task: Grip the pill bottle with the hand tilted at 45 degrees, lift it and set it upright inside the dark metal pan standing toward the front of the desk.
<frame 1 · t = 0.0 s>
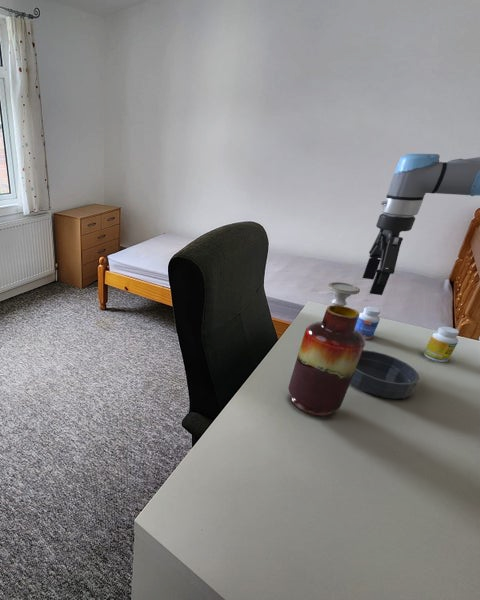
hand: (371, 285, 102), 19 cm above the table, tool pointing down, fingers open, 13 cm apart
vase: (310, 404, 84), on the table
supplement bottle: (434, 357, 101), on the table
candle holder: (324, 345, 108), on the table
pill bottle: (362, 335, 113), on the table
pan: (373, 381, 92), on the table
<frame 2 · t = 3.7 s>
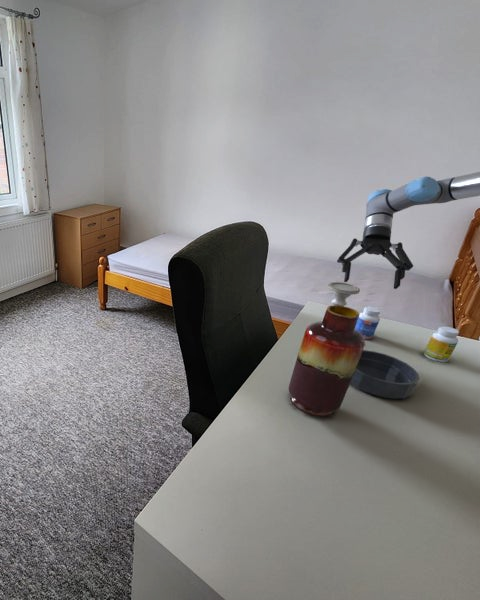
hand: (370, 283, 115), 15 cm above the table, tool tilted 45°, fingers open, 13 cm apart
nothing on the table moved.
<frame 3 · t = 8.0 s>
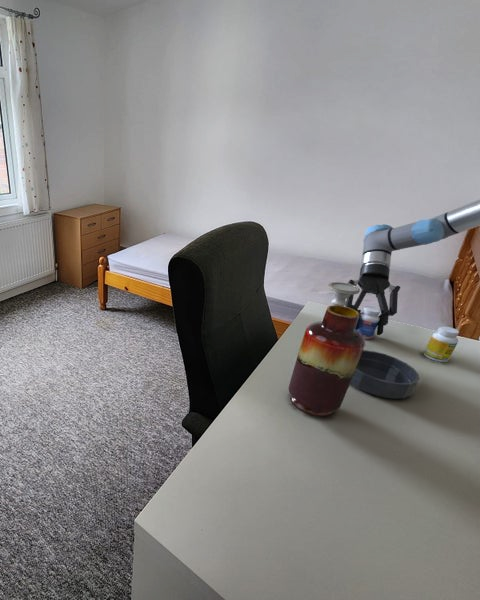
hand: (367, 331, 109), 3 cm above the table, tool tilted 45°, fingers closed on pill bottle, 5 cm apart
pill bottle: (362, 335, 113), on the table, touching gripper
everything else where it was.
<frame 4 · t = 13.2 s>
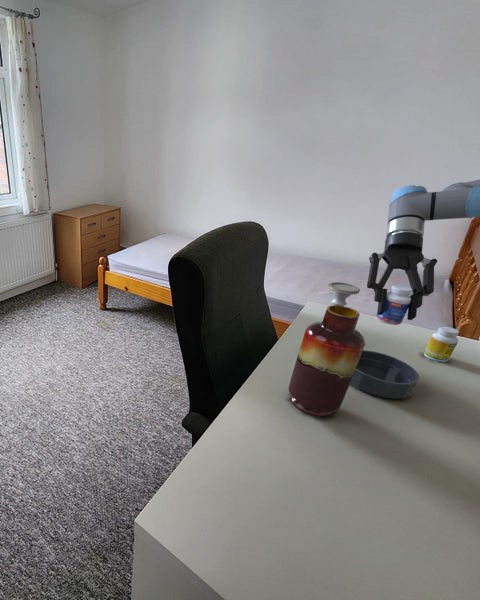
hand: (396, 315, 87), 18 cm above the table, tool tilted 45°, fingers closed on pill bottle, 5 cm apart
pill bottle: (387, 321, 91), point 15 cm above the table, touching gripper
everything else where it was.
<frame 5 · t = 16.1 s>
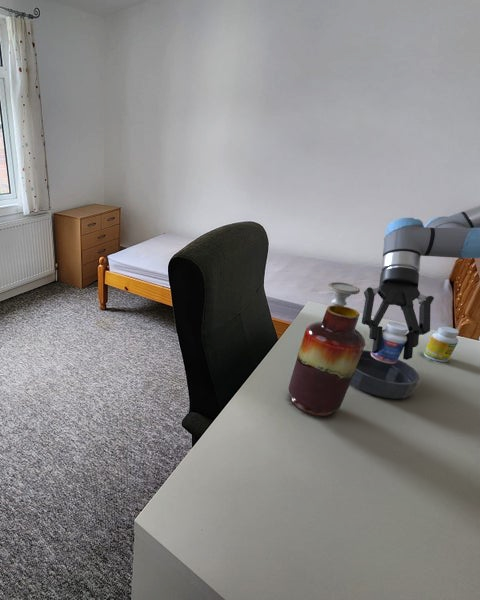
hand: (391, 354, 84), 11 cm above the table, tool tilted 45°, fingers closed on pill bottle, 5 cm apart
pill bottle: (383, 358, 89), point 7 cm above the table, touching gripper
everything else where it was.
when the fingers open (4 cm above the table, at t = 18.5 s): pill bottle stays where it is, resting on pan.
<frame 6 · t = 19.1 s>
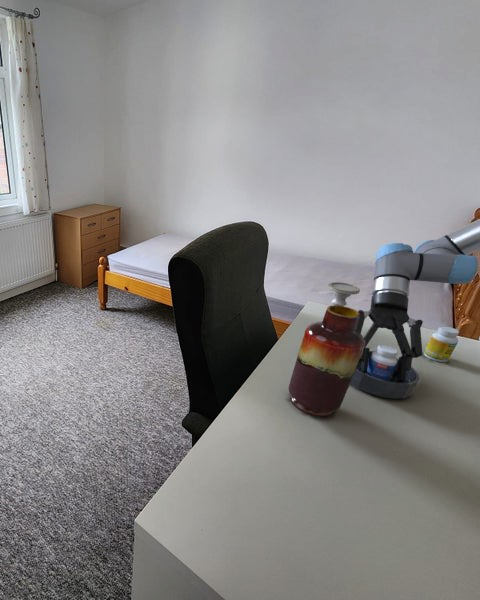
hand: (381, 376, 87), 4 cm above the table, tool tilted 45°, fingers open, 7 cm apart
pill bottle: (374, 379, 92), resting on pan
everything else where it was.
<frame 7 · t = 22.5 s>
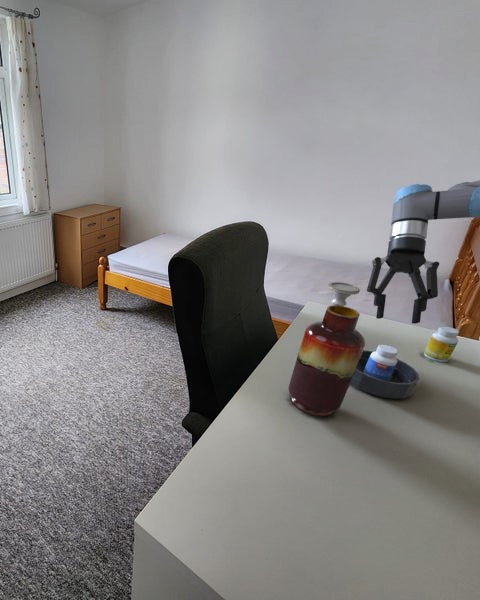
hand: (397, 320, 92), 15 cm above the table, tool tilted 35°, fingers open, 7 cm apart
nothing on the table moved.
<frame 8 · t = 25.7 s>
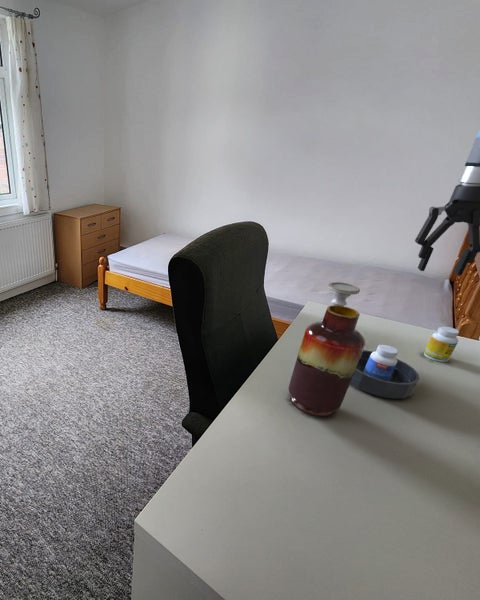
hand: (438, 271, 94), 26 cm above the table, tool pointing down, fingers open, 7 cm apart
nothing on the table moved.
at the end: pill bottle inside the target area in the pan (0.1 cm from its centre), point 0.4 cm above the pan's base; pill bottle tilted 0° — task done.
